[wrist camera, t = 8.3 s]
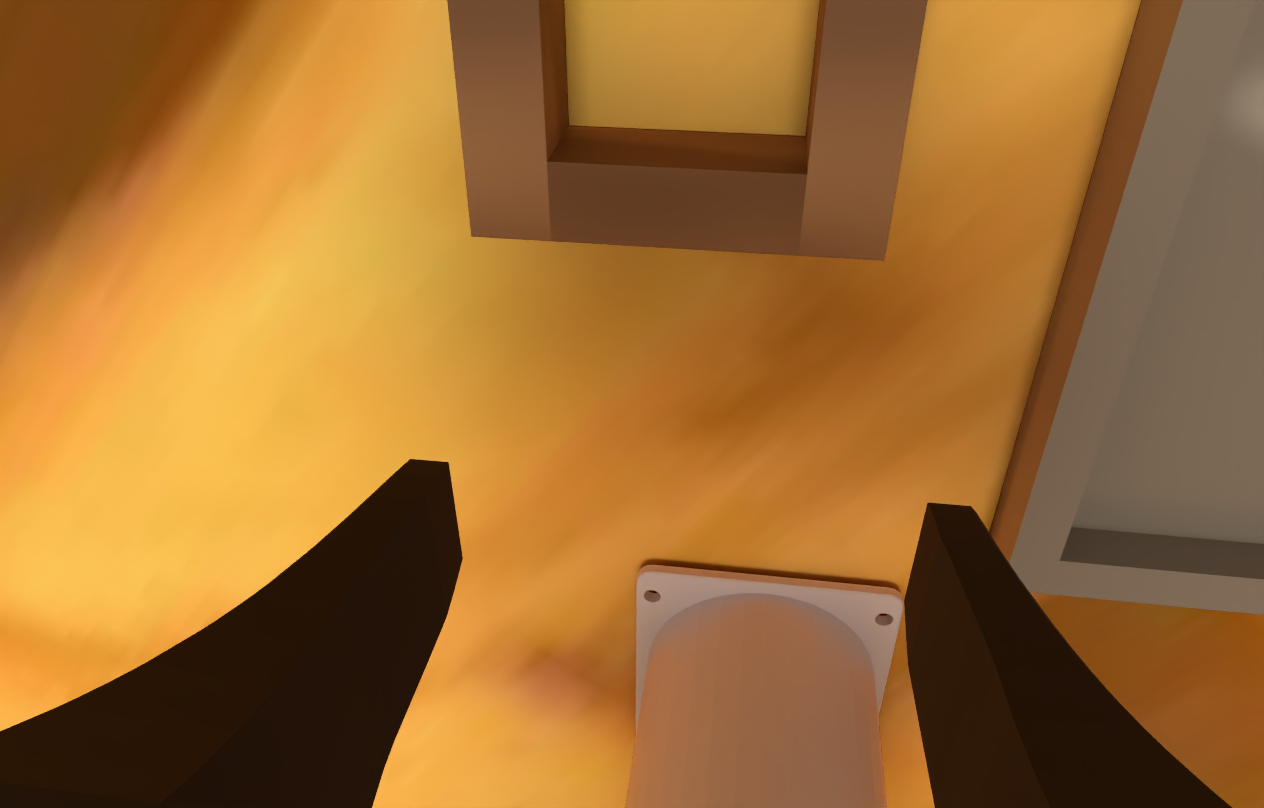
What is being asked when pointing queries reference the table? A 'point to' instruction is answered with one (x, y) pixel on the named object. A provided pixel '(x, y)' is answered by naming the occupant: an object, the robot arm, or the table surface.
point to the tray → (1157, 339)
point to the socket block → (684, 144)
